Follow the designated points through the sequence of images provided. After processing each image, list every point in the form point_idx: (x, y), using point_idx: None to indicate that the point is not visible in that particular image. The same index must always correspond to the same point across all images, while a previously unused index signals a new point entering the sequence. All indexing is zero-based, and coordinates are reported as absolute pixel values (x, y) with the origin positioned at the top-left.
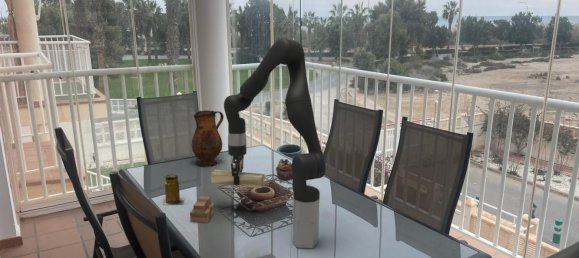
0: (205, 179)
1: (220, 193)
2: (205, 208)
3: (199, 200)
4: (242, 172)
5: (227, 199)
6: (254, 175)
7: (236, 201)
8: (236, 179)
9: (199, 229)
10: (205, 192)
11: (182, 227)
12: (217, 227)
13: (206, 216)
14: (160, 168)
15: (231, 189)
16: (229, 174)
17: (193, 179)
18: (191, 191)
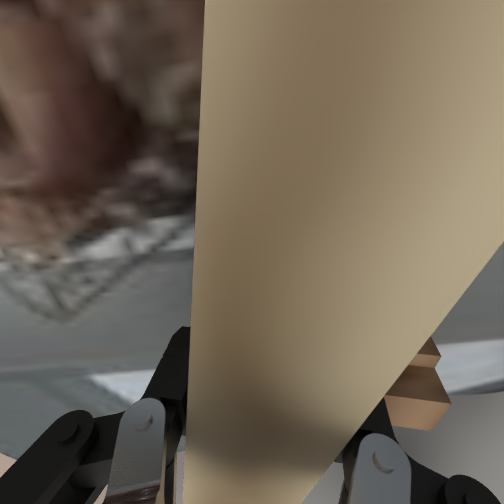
0: (19, 360)
1: (115, 307)
2: (403, 372)
3: None
4: (203, 404)
5: (166, 277)
6: (390, 230)
7: (177, 238)
8: (382, 414)
9: (483, 337)
10: (127, 351)
11: (445, 381)
12: (486, 281)
13: (432, 345)
14: (19, 444)
15: (54, 274)
16: (300, 491)
17: (40, 386)
18: (135, 383)
